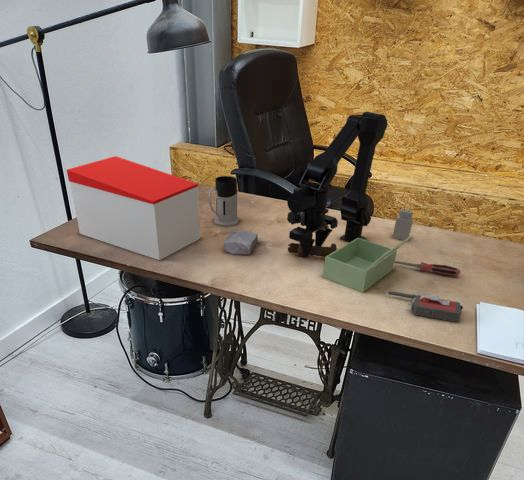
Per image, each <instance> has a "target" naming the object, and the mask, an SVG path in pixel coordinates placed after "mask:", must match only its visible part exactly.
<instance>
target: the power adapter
mask: <svg viewBox="0 0 524 480" xmlns="http://www.w3.org/2000/svg"><path fill="white" fill-rule="evenodd" d="M406 205H407V204H406V203H404V205H403V209H400V210H399V213H398V215H397V216H396V218H395V223H394V228H393V232H392V238H393V239H397V240H399V241H400V240H401V241H404V240H405V239H407V238H408V237H410V236H411V232H412V227H413V224H414V223H413V222H414V218H413V213H414V212H413V211H412V210H411V208H412V204H410V205H409V208H408V209H406Z"/></svg>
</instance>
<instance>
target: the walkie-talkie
mask: <svg viewBox="0 0 524 480" xmlns="http://www.w3.org/2000/svg"><path fill="white" fill-rule="evenodd" d="M386 293H387V295H389V296H396V297H399V298H400V297H402V298H405V299H406V298H407V299H410V300H412V302H411V308H410V310H411V311H413V315H415V316H421V317H424V318H425V317H426V318H432V319H436V320H443V321H449V322H453V323H454V322H459V319H460V317H461V312H462V310H463V308H464V306H463V305H461V302H459V301H456V300H451V299H443V298H441V297H440V296H437V295H432V294H426V293H420V292H417V293H416V294H411V293H404V292H398V291H392V290H388V291H387V292H386Z"/></svg>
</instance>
